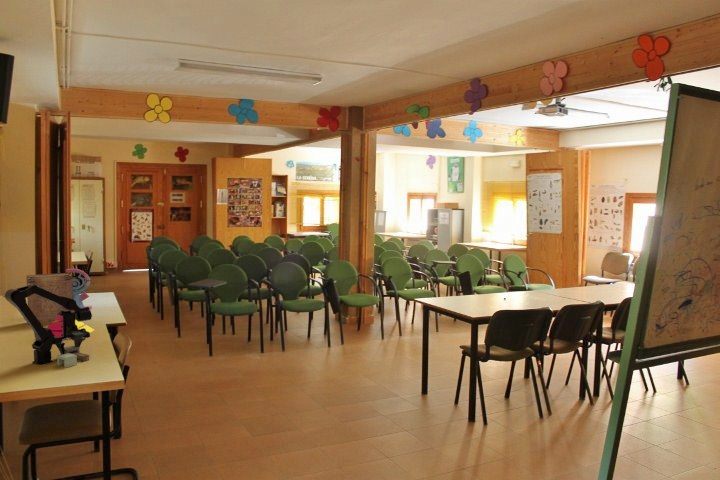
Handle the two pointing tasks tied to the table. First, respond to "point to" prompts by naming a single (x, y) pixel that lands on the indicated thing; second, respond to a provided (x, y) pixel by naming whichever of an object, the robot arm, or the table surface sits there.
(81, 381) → the table surface
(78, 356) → the walnut rail
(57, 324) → the pyramid toy
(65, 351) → the charcoal end cap
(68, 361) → the sage green end cap
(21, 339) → the table surface
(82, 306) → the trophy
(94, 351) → the table surface
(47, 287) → the book
